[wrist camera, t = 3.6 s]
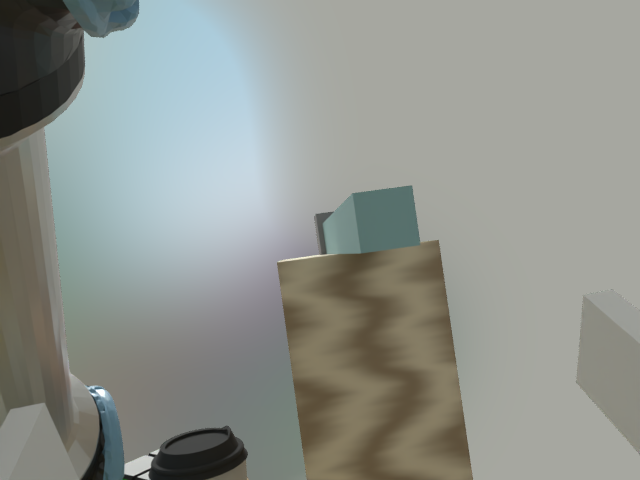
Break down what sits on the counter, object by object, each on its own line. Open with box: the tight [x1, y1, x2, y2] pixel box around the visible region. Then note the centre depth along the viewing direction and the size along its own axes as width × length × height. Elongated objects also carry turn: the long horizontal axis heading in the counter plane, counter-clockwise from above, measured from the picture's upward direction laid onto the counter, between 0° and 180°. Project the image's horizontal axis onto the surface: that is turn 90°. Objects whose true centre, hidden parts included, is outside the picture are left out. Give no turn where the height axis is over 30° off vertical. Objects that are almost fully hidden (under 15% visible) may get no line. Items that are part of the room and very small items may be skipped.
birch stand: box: [277, 240, 473, 480], centre depth 49 cm, size 12×18×30 cm, turn 3°
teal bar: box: [314, 186, 420, 255], centre depth 42 cm, size 4×30×4 cm, turn 3°
